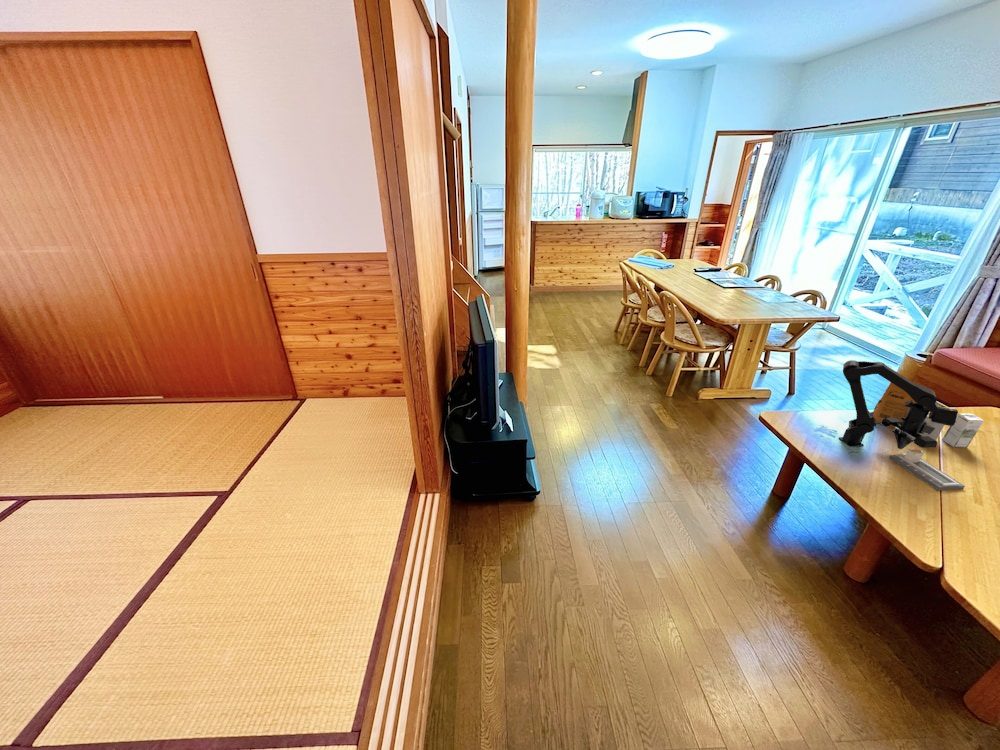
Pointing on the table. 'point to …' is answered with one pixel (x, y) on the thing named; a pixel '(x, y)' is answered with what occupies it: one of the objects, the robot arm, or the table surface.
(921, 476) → the fader console
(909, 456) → the fader knob
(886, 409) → the coffee package
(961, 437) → the syrup box
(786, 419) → the table surface
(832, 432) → the table surface
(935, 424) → the can
